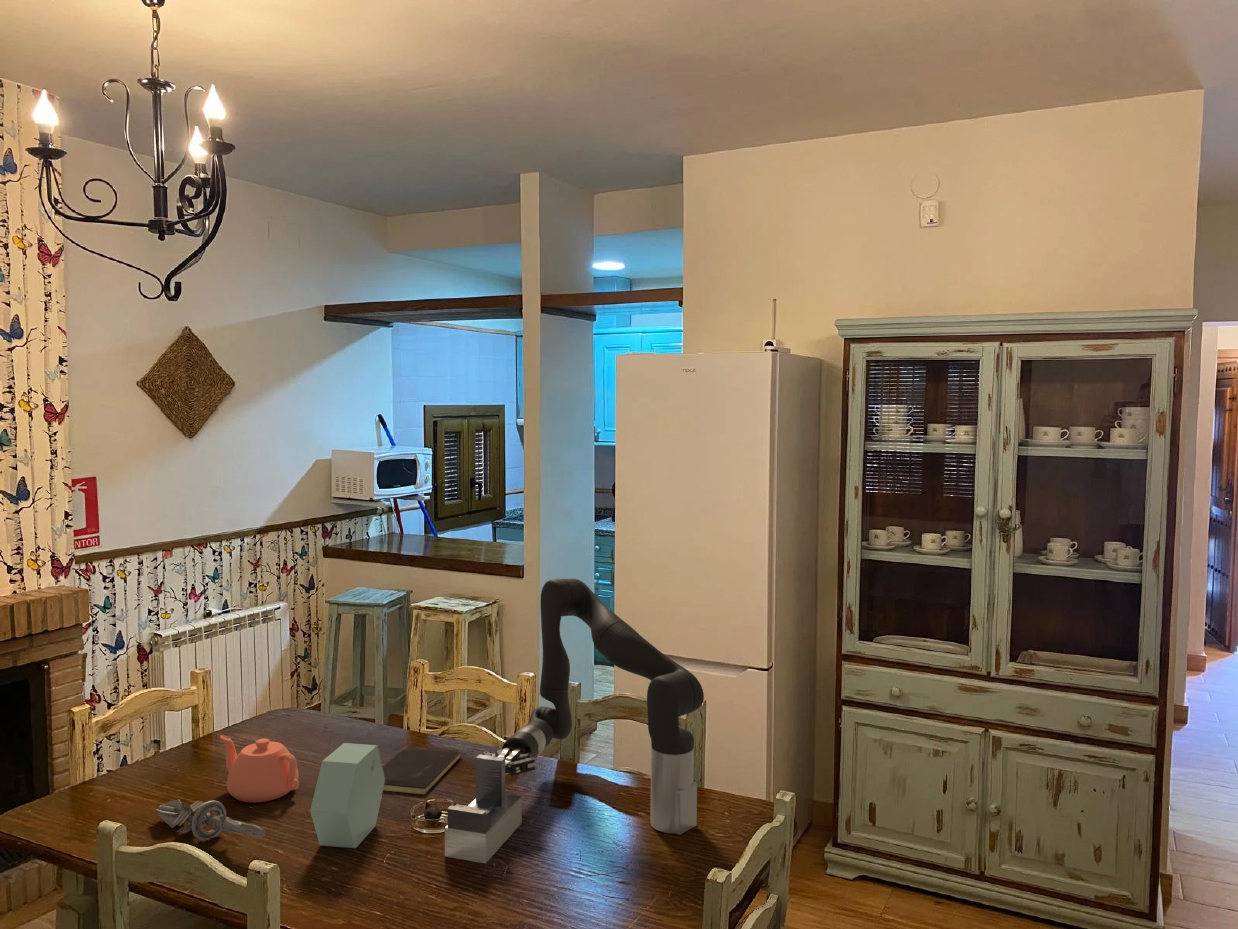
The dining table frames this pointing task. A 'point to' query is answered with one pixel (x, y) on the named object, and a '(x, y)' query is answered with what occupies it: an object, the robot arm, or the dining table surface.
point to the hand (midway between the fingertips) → (492, 776)
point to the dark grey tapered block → (490, 782)
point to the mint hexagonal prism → (348, 795)
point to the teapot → (260, 771)
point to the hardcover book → (417, 768)
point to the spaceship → (205, 819)
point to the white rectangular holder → (480, 829)
